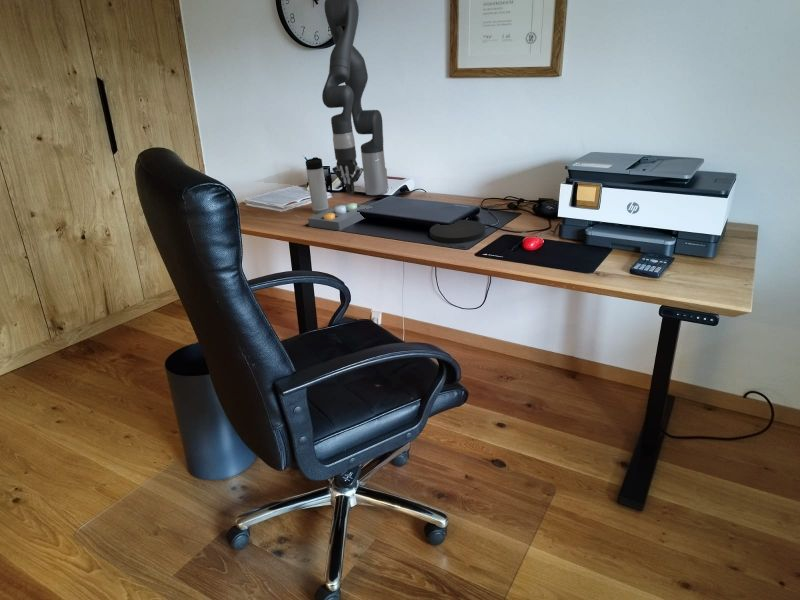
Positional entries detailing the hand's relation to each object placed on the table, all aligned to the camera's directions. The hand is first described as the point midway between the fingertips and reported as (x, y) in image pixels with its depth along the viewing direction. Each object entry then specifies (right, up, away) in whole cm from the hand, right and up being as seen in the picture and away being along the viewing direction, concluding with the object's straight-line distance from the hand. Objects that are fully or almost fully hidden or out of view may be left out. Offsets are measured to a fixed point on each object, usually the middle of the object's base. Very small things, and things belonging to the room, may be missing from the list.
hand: (350, 193), depth 205 cm
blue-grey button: (-3, -9, -2) cm, 10 cm away
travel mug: (-13, -5, +12) cm, 18 cm away
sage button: (0, -7, +3) cm, 8 cm away
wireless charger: (+37, -18, -25) cm, 48 cm away
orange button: (-7, -12, -7) cm, 15 cm away
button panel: (-3, -10, -2) cm, 11 cm away
